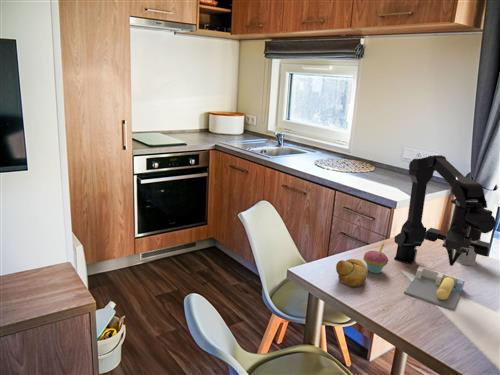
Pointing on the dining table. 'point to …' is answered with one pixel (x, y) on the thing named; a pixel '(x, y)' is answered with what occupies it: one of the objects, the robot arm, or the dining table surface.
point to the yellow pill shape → (445, 288)
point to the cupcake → (375, 260)
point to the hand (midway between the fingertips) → (451, 265)
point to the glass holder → (470, 249)
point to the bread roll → (352, 272)
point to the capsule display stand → (434, 287)
